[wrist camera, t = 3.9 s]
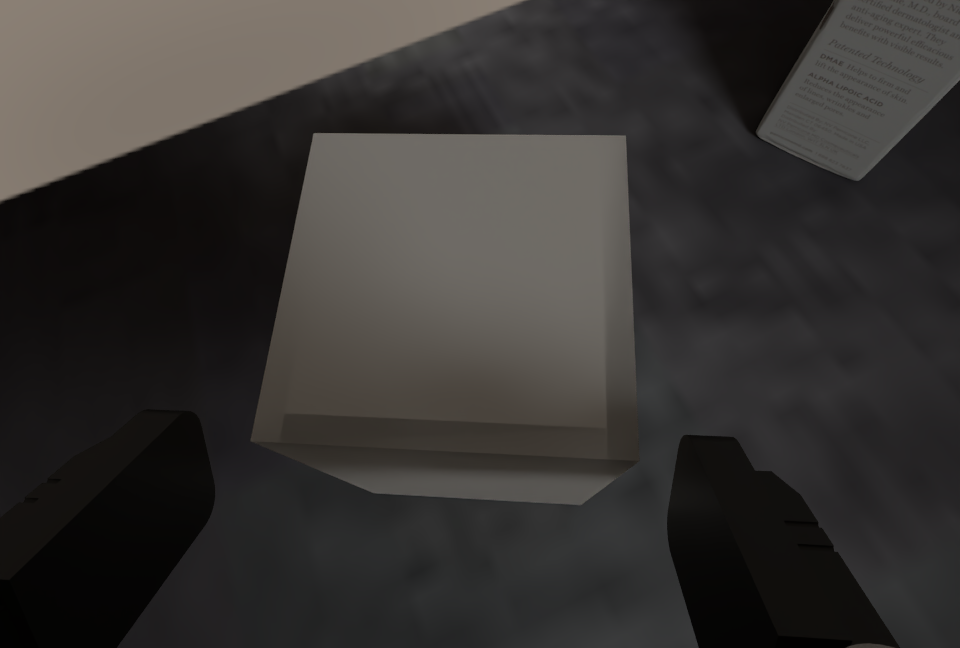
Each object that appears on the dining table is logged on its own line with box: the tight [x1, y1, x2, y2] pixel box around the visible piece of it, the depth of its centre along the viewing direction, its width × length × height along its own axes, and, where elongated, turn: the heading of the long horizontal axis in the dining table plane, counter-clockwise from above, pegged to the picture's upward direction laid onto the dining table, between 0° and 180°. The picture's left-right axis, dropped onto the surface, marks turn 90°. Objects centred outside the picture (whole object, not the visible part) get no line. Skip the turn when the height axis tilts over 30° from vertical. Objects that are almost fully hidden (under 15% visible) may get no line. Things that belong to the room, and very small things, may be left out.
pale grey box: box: [251, 133, 639, 505], centre depth 15 cm, size 6×6×9 cm
